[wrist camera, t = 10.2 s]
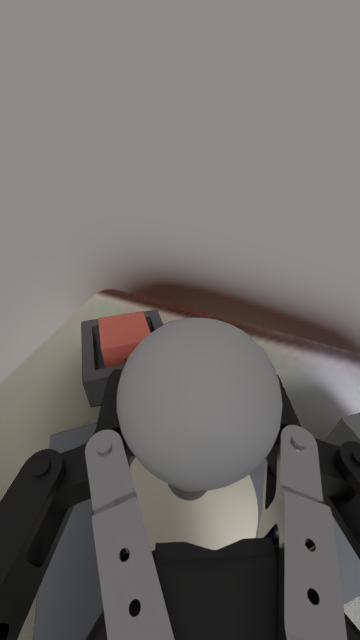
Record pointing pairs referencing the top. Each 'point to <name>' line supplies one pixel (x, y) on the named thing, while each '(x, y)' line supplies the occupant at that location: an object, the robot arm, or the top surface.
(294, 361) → the top surface
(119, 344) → the button
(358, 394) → the top surface
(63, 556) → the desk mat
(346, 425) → the dice cube
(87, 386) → the button box
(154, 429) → the lightbulb
